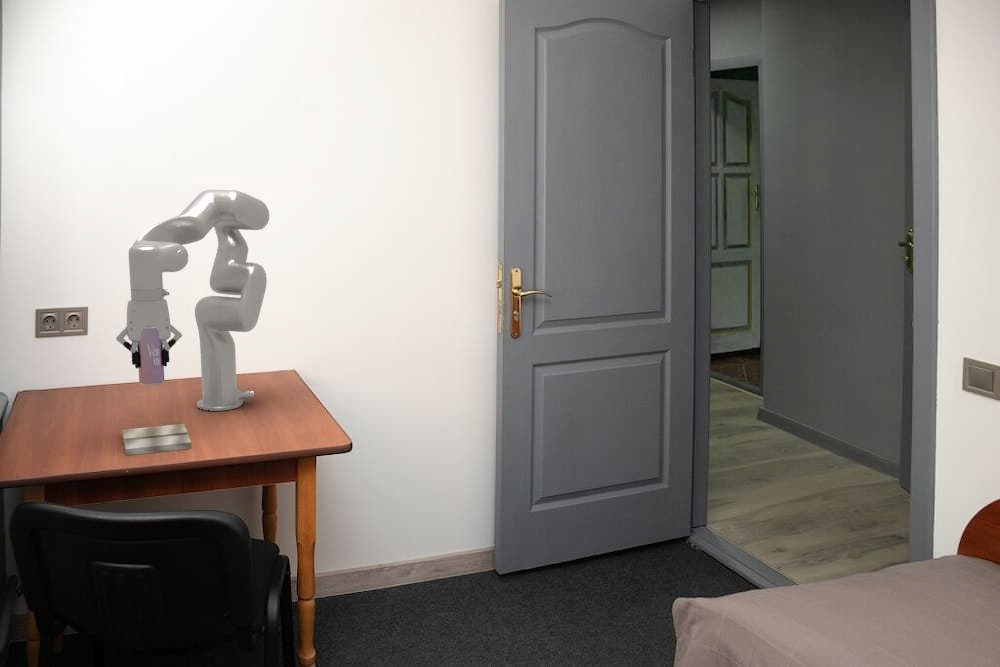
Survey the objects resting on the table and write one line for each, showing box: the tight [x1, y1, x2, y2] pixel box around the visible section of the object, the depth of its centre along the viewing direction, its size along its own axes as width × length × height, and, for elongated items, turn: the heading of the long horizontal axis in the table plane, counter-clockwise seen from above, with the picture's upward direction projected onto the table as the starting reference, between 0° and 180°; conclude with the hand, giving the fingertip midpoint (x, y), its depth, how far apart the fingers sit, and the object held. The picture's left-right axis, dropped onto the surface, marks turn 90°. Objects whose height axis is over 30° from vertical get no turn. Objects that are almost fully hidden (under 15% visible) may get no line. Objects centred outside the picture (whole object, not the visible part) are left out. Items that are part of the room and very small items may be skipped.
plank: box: [121, 423, 188, 443], centre depth 239 cm, size 15×8×2 cm, turn 114°
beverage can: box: [137, 326, 165, 387], centre depth 235 cm, size 6×6×15 cm
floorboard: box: [123, 433, 192, 456], centre depth 231 cm, size 15×8×2 cm, turn 114°
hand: (151, 365), depth 235 cm, fingers closed on beverage can, 6 cm apart
